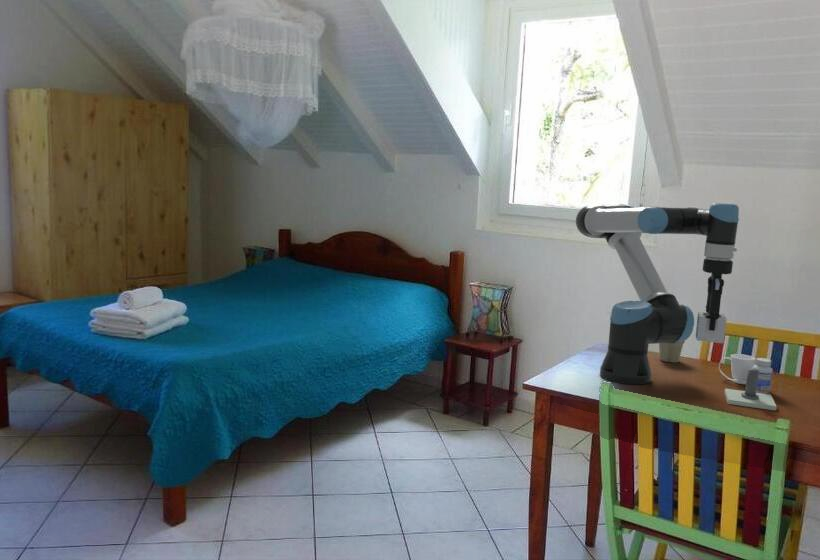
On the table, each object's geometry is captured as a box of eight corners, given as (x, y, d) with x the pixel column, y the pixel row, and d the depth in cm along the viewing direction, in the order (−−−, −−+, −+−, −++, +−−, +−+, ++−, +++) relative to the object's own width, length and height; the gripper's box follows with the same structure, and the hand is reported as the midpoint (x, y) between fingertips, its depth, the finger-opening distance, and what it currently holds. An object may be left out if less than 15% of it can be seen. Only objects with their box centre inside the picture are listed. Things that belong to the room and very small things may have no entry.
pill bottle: (750, 387, 204) (754, 356, 203) (771, 390, 201) (775, 359, 200) (748, 391, 200) (752, 359, 198) (768, 395, 197) (772, 363, 195)
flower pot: (688, 360, 232) (690, 336, 230) (678, 365, 225) (680, 340, 223) (660, 355, 238) (663, 331, 236) (650, 359, 231) (652, 335, 229)
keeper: (727, 403, 188) (731, 371, 186) (724, 392, 198) (728, 362, 196) (776, 410, 184) (780, 378, 182) (770, 398, 194) (774, 367, 192)
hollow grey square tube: (696, 340, 191) (699, 316, 190) (695, 335, 198) (698, 311, 197) (723, 343, 189) (726, 318, 188) (721, 338, 195) (724, 314, 194)
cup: (751, 387, 204) (755, 361, 203) (715, 380, 209) (718, 355, 208) (753, 381, 210) (756, 356, 209) (718, 375, 215) (721, 350, 214)
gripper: (736, 264, 179) (726, 347, 183) (729, 256, 198) (720, 332, 201) (706, 261, 182) (696, 344, 185) (702, 254, 200) (693, 329, 204)
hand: (709, 338), depth 193 cm, fingers closed on hollow grey square tube, 7 cm apart
